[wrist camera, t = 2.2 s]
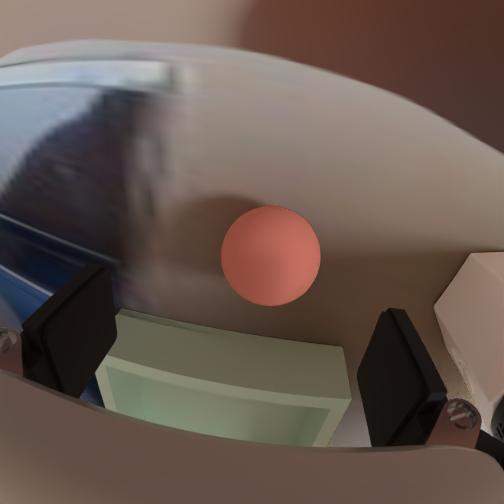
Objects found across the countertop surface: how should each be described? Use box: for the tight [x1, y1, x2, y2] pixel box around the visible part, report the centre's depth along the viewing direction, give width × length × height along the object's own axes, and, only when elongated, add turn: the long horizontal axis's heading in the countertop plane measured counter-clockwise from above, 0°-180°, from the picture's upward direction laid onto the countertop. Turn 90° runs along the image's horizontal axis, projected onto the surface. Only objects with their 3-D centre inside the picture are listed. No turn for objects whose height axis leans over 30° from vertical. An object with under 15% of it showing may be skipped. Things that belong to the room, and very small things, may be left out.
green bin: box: [95, 308, 352, 447], centre depth 22 cm, size 16×16×5 cm
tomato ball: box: [221, 206, 321, 306], centre depth 16 cm, size 5×5×5 cm
